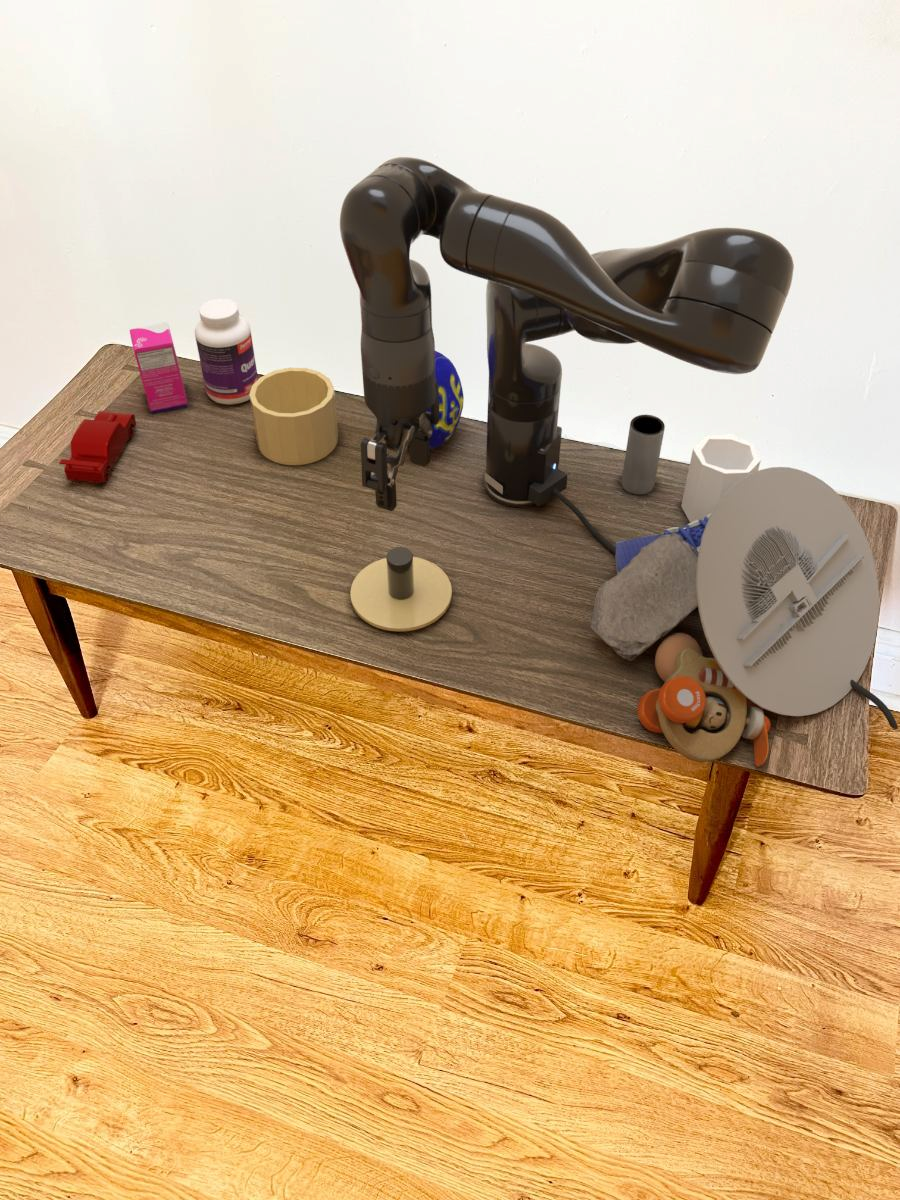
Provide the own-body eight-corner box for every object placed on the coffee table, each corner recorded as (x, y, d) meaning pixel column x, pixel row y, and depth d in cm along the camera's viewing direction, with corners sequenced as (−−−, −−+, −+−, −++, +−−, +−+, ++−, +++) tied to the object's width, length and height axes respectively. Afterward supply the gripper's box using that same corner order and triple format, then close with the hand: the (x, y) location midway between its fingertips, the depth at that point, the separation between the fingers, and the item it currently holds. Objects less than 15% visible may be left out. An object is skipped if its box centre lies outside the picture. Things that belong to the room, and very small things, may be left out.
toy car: (105, 490, 148) (96, 462, 144) (66, 486, 148) (57, 458, 145) (139, 429, 158) (132, 401, 154) (102, 425, 158) (95, 398, 154)
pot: (352, 428, 158) (348, 379, 152) (312, 474, 150) (306, 424, 144) (284, 408, 161) (277, 360, 155) (242, 452, 154) (233, 403, 148)
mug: (742, 537, 141) (758, 479, 134) (677, 525, 143) (689, 467, 136) (750, 480, 149) (765, 423, 142) (688, 469, 151) (700, 412, 144)
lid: (468, 580, 136) (469, 538, 131) (424, 648, 128) (423, 606, 123) (380, 551, 140) (377, 509, 134) (332, 615, 132) (327, 573, 126)
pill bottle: (255, 408, 161) (242, 324, 151) (202, 407, 161) (185, 323, 151) (263, 377, 167) (251, 294, 156) (211, 376, 167) (196, 293, 156)
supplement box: (145, 393, 164) (128, 327, 156) (184, 386, 165) (169, 320, 157) (149, 414, 160) (132, 348, 152) (189, 407, 161) (175, 341, 153)
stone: (577, 619, 129) (637, 675, 126) (572, 610, 125) (635, 669, 122) (665, 528, 129) (728, 583, 126) (664, 517, 125) (729, 573, 122)
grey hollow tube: (628, 497, 147) (638, 437, 139) (616, 477, 150) (625, 417, 142) (659, 491, 148) (670, 431, 140) (646, 471, 151) (656, 411, 143)
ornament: (435, 470, 151) (434, 381, 140) (380, 450, 154) (375, 361, 143) (473, 429, 158) (475, 340, 147) (419, 410, 161) (417, 322, 150)
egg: (648, 691, 123) (652, 647, 128) (694, 702, 123) (697, 657, 127) (659, 661, 119) (663, 616, 124) (708, 671, 119) (710, 627, 123)
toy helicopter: (649, 708, 111) (755, 790, 111) (747, 564, 118) (846, 641, 118) (622, 723, 119) (721, 800, 118) (715, 587, 126) (809, 659, 126)
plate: (772, 766, 117) (781, 767, 116) (655, 546, 111) (662, 544, 110) (909, 628, 129) (917, 628, 128) (809, 424, 124) (817, 422, 123)
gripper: (400, 408, 104) (405, 532, 116) (460, 336, 113) (459, 457, 125) (332, 390, 106) (344, 513, 118) (396, 320, 115) (402, 441, 127)
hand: (403, 484), depth 121 cm, fingers open, 8 cm apart
